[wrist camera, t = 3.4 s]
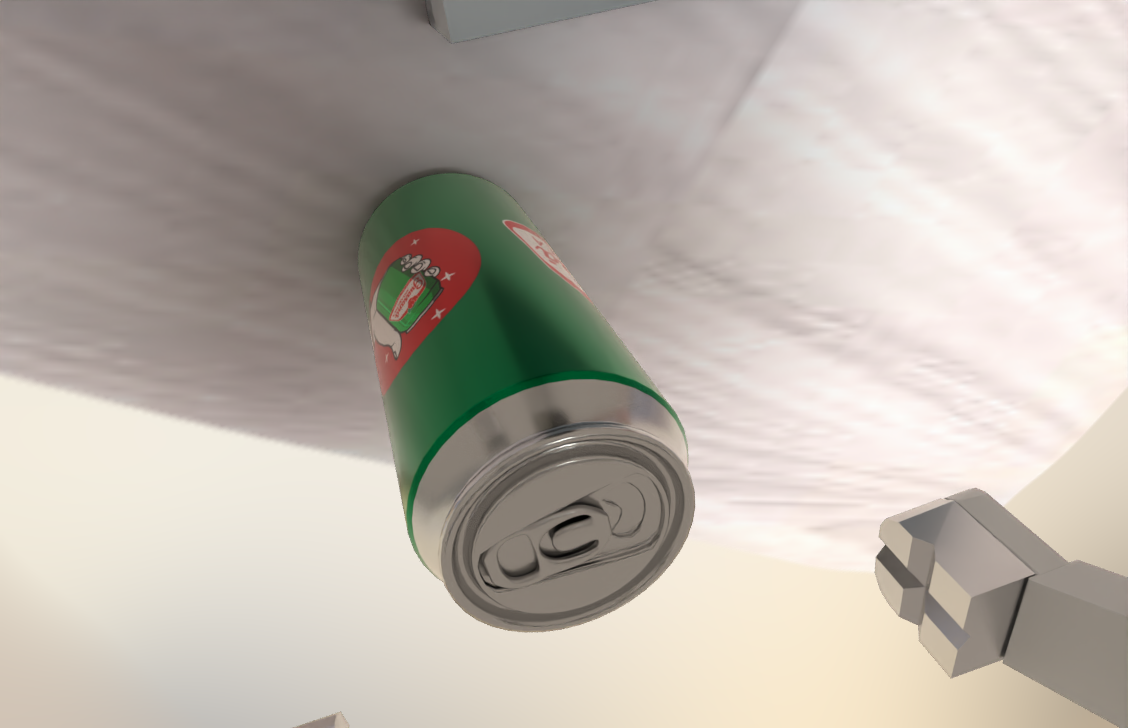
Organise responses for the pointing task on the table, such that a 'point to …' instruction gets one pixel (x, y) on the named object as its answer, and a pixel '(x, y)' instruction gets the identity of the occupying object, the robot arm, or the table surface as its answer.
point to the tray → (508, 14)
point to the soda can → (515, 414)
